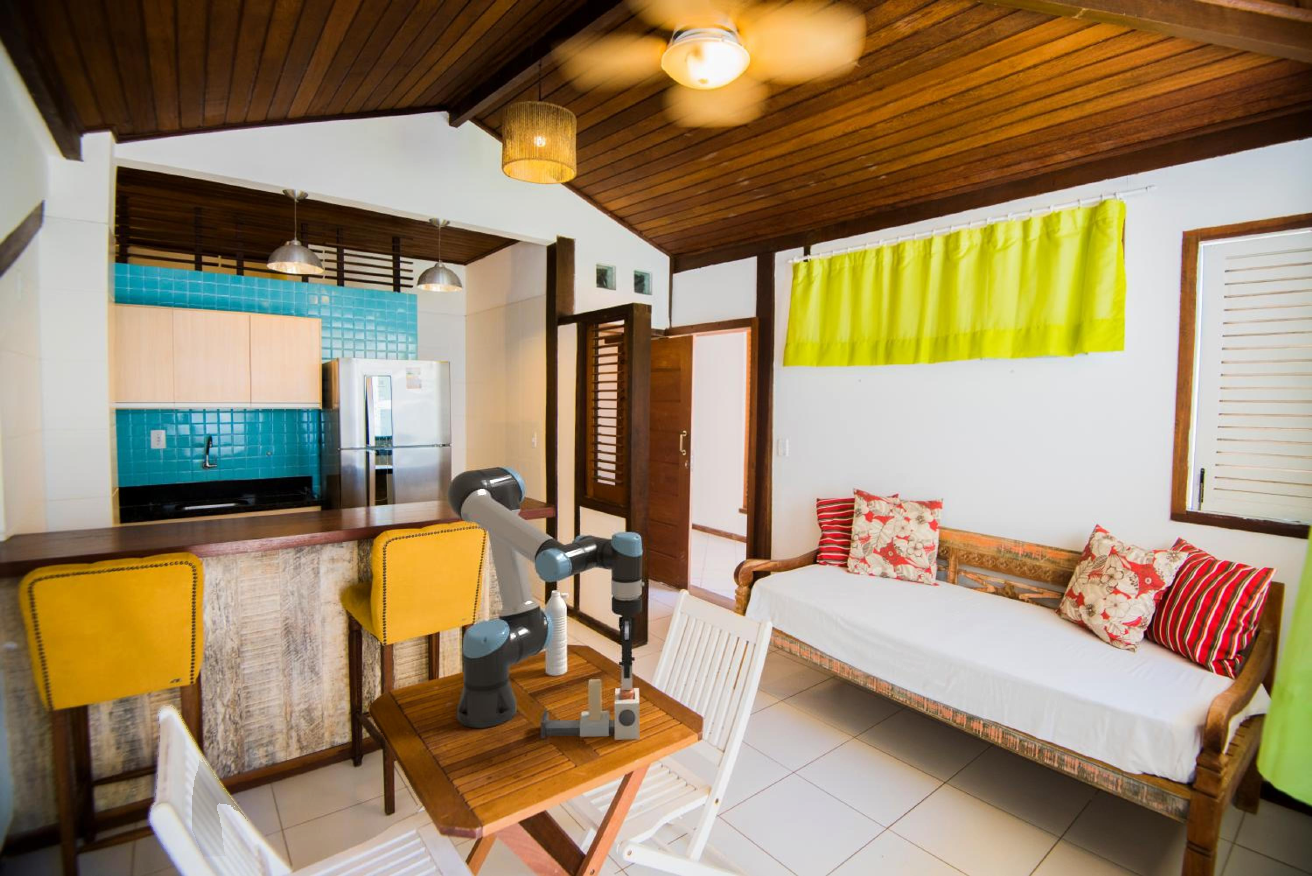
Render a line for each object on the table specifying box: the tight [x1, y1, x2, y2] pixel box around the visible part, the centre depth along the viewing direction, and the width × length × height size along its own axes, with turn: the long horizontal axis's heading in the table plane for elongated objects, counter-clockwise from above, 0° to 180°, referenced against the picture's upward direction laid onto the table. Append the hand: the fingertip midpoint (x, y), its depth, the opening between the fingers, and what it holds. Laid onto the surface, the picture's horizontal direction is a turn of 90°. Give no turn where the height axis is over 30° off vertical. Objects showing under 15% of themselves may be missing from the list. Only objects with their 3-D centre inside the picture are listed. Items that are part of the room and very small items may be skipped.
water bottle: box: [544, 590, 570, 677], centre depth 187 cm, size 9×6×25 cm
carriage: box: [579, 678, 611, 738], centre depth 154 cm, size 7×7×12 cm
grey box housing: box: [614, 687, 640, 741], centre depth 154 cm, size 6×8×9 cm
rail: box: [540, 710, 615, 740], centre depth 154 cm, size 19×6×4 cm, turn 92°
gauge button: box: [620, 687, 635, 700], centre depth 154 cm, size 4×4×6 cm
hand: (626, 688), depth 154 cm, fingers closed
